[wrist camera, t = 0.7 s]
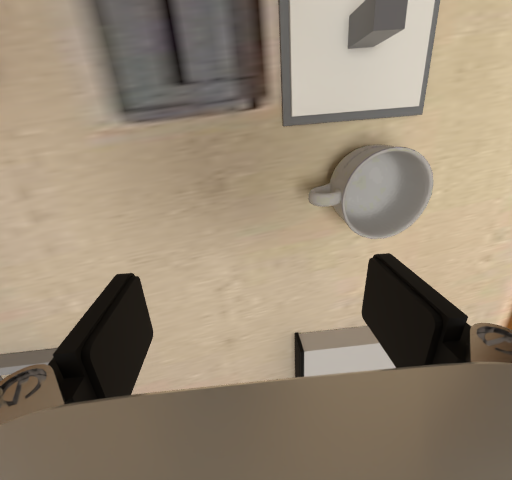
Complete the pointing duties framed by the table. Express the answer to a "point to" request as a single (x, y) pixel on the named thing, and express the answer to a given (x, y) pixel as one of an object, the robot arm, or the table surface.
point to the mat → (344, 115)
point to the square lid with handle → (357, 54)
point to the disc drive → (338, 352)
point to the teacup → (378, 190)
